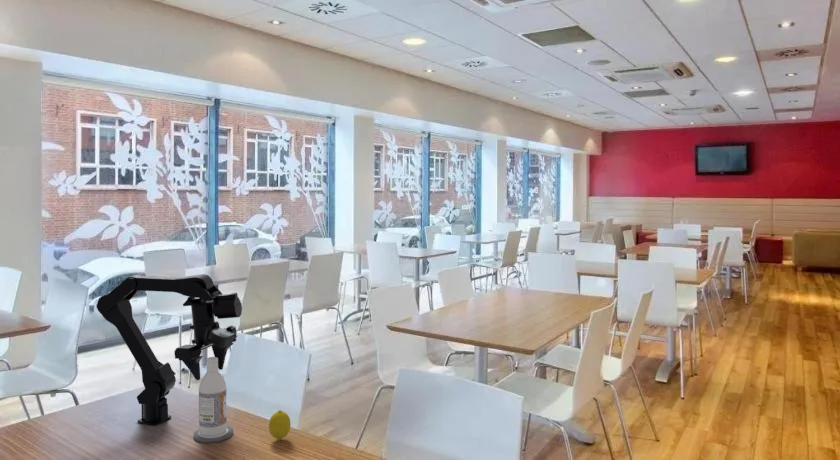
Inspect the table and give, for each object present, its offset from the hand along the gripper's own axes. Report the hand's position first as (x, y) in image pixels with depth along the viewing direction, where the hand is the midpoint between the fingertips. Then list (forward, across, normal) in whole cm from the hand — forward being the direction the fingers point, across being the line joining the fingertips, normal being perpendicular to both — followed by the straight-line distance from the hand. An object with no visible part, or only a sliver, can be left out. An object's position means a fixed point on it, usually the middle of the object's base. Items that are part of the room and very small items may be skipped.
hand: (209, 374), depth 169 cm
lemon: (+16, -3, -24) cm, 29 cm away
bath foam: (+13, -7, -6) cm, 16 cm away
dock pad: (+14, -7, -6) cm, 17 cm away
